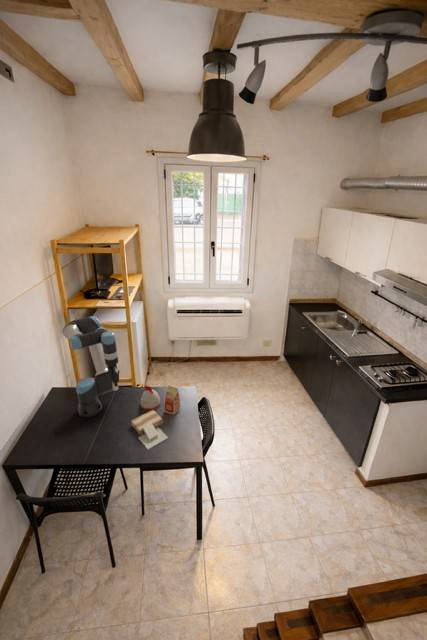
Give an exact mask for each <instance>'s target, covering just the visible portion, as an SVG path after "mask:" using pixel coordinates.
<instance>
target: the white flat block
mask: <svg viewBox="0 0 427 640" xmlns="http://www.w3.org/2000/svg"><path fill="white" fill-rule="evenodd" d="M142 429H143V430H144V432H145V434H146V436H147V437H148V439H149V440H151V439H153V438H155V437H156V436H158V433H157V431H156V429H155V428H154V426H153V424H152V422H150V423H148V424H146V425H145V426H143V427H142Z"/></svg>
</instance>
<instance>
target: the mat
mask: <svg viewBox="0 0 427 640" xmlns="http://www.w3.org/2000/svg"><path fill="white" fill-rule="evenodd" d="M155 429H156V431H157V433H158V436H156V437H155V438H153V439H151V440H149V439H148V437H147V436H146V434H144V435H142V436H138V437H137V438H138V440H139V441H140V442H141V444H143V446H144V445H145V446H144V447H145V448H146V449H147V450H150V449H152V448H154V447H155V446H157V445H159V444H160V443H162V442H164V441H167V439H169V437H168V436H167V434H165V433H164V431H163V430H162V429H161V428H160V426H158V427H157V428H155ZM153 446H154V447H153Z"/></svg>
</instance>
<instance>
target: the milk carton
mask: <svg viewBox="0 0 427 640" xmlns="http://www.w3.org/2000/svg"><path fill="white" fill-rule="evenodd" d="M163 405H164V406H163V412H164V413H167V414H171V415H175V414H177V413H178V412H179V411H180V409H181V400H180V393H179V388H178V387H177V386H173V385H171V384H167V388H166V390H165V395H164V404H163Z"/></svg>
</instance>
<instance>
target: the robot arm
mask: <svg viewBox="0 0 427 640" xmlns="http://www.w3.org/2000/svg"><path fill="white" fill-rule="evenodd" d="M62 334H63V336H64V337H65V339H69V344H70V347H71V349H72V350H73V351H76V350H81V349H84V348H88V349H89V352H90V355H91V359H92V362H93V365H94V369H95V371H96V373H95V375H94V377H95V378H93V377H91V376H90V377H89V376H87V377H83V378H81V379H80V380H79V381H78V382H77V383H76V385H75V389H76V390H75V391H76V395H77V399H78V408H77V411H78V415H79V417H81V418H91V417H94V416H96V415H98V414H100V412H101V411H102V409H103V406H102V403H101V401H100V400H99V398H98V397H99V396H101V395H103V394H106V393H109V392H112V391H113V392H115V391H118V390H119V382H120V370H118V365H117V364H118V363H119V356H118V354H119V353H118V349H117V342H116V335H115V333H114V332H112V331H108V330H107V328H105V327H103V326H102V324H101V323H100V320H99V319H98V317H97V316H94V315H93V316H86V317H83V318H82V317H81V318H78V319H74V320H70V321H69V322H67V323H65V325H64V326H63V329H62Z"/></svg>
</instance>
